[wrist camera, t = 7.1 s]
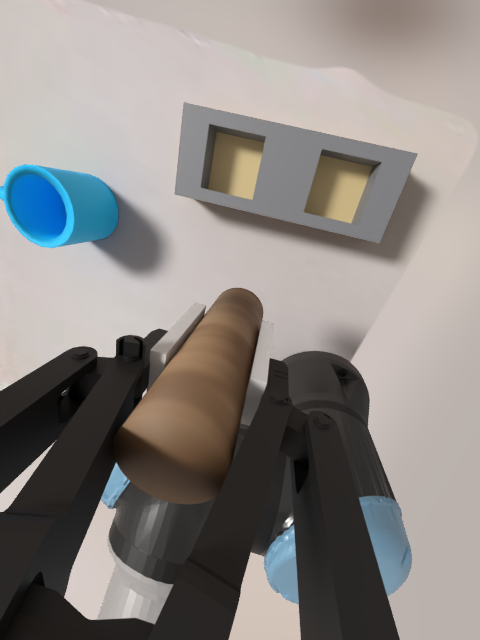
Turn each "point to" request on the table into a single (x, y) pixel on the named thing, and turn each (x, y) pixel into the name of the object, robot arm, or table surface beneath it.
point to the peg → (194, 407)
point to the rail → (290, 172)
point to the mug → (58, 205)
